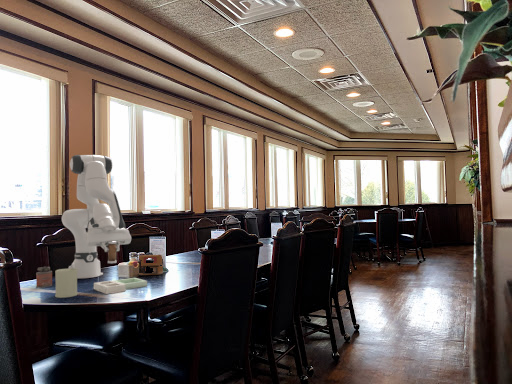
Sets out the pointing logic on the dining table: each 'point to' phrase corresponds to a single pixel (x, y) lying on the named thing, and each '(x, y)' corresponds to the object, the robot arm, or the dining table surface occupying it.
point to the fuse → (112, 252)
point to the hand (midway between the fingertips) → (112, 250)
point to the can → (66, 282)
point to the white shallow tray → (109, 287)
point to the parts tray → (132, 282)
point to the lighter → (44, 277)
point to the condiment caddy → (152, 264)
